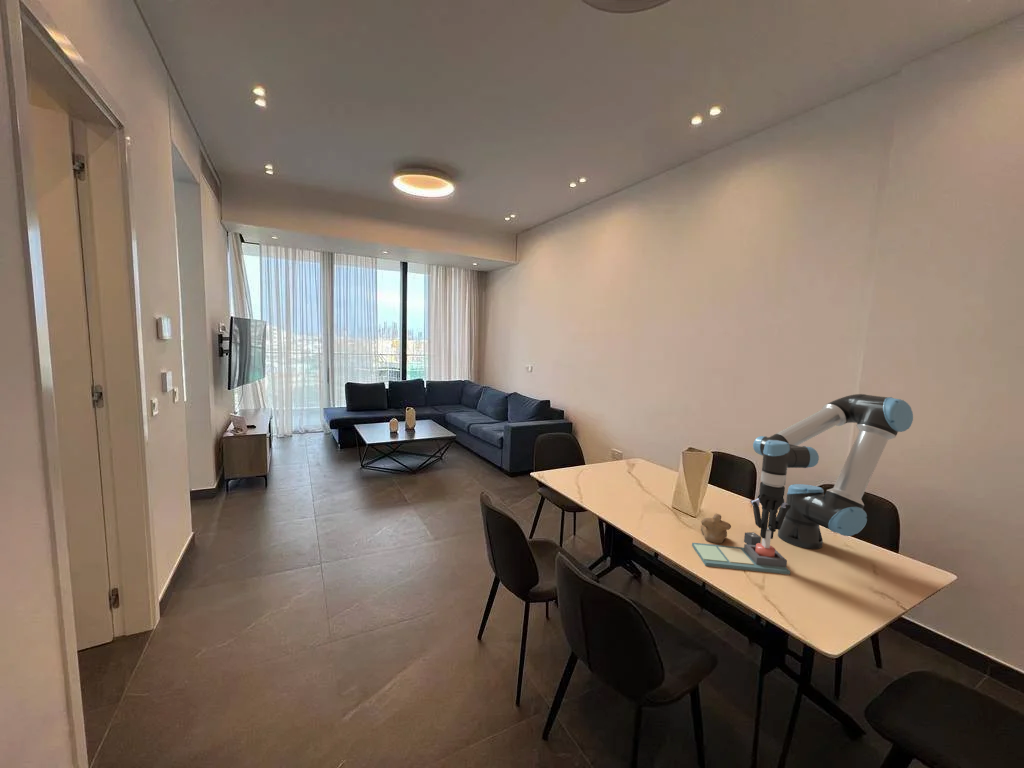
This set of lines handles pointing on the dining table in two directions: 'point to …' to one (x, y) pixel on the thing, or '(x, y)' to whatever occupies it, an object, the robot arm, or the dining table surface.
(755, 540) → the die
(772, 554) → the dome button
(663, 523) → the dining table surface
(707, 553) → the board
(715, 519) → the figurine
